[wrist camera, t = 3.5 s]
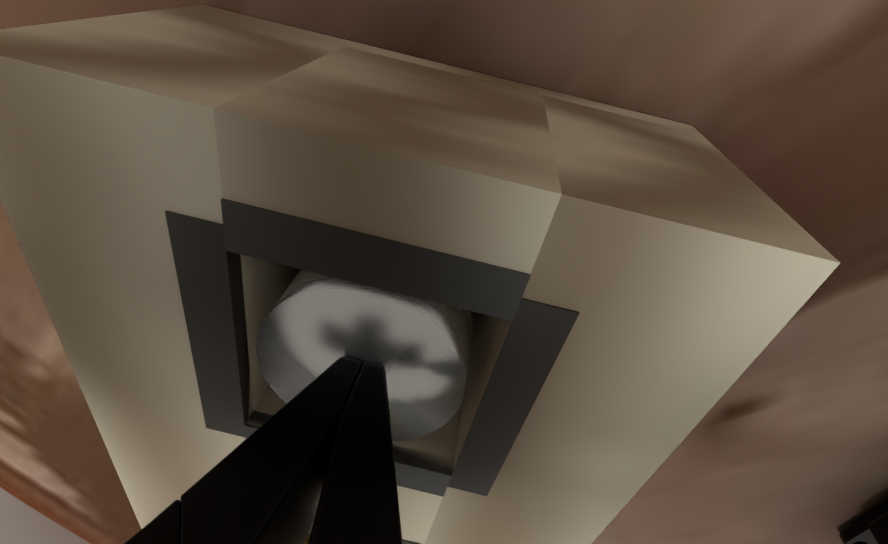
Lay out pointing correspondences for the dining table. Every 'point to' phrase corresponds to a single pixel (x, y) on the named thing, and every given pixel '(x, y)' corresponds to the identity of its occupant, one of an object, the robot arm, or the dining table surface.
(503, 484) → the collar block
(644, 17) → the dining table surface
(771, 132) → the dining table surface
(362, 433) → the robot arm
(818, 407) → the dining table surface
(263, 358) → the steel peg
